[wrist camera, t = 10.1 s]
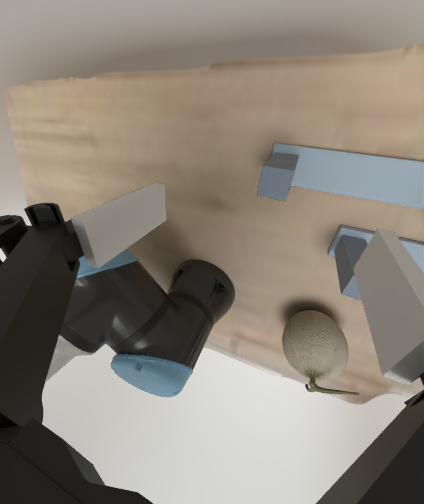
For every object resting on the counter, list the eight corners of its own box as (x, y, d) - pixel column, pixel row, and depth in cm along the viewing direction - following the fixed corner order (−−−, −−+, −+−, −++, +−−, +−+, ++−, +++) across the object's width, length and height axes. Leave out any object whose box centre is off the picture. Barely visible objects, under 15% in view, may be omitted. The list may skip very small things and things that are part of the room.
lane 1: (267, 179, 31) (250, 203, 23) (275, 142, 28) (259, 154, 20) (535, 226, 23) (666, 291, 14) (584, 181, 20) (786, 229, 12)
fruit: (281, 330, 46) (271, 401, 35) (290, 293, 40) (281, 364, 29) (333, 345, 43) (341, 429, 31) (351, 307, 37) (370, 395, 25)
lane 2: (327, 252, 33) (333, 298, 25) (341, 224, 30) (352, 266, 22) (416, 274, 30) (457, 336, 21) (440, 246, 27) (499, 305, 19)
